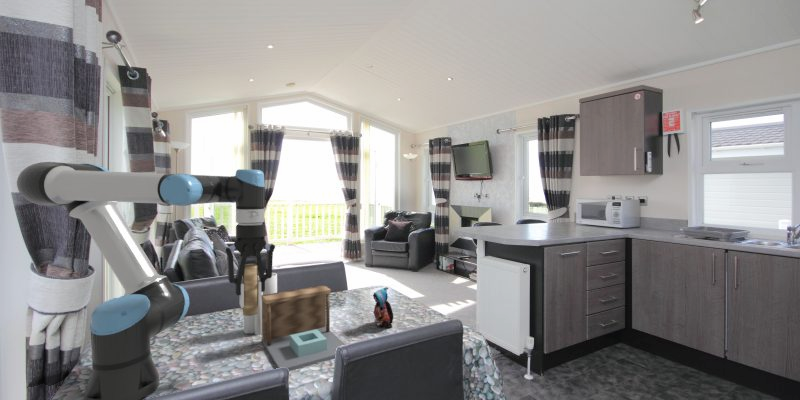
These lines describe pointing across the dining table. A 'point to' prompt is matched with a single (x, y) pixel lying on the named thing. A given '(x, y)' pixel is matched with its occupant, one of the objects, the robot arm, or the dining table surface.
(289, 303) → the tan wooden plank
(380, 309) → the figurine
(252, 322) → the vase
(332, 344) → the socket board
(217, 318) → the dining table surface
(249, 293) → the oak peg
